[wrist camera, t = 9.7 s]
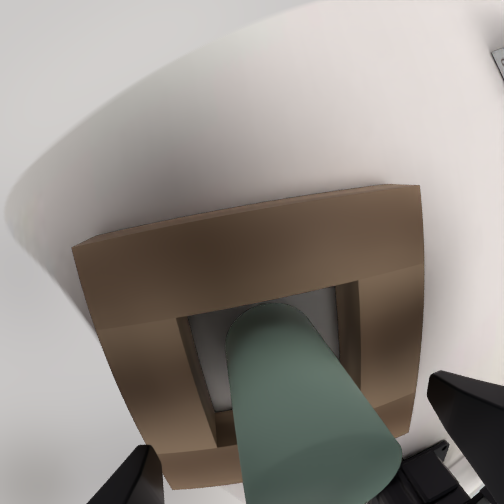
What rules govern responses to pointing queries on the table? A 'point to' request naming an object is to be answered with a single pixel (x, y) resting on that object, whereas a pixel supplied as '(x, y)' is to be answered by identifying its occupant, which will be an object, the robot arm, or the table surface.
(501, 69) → the skincare box
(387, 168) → the table surface
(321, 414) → the green peg
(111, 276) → the walnut holder
